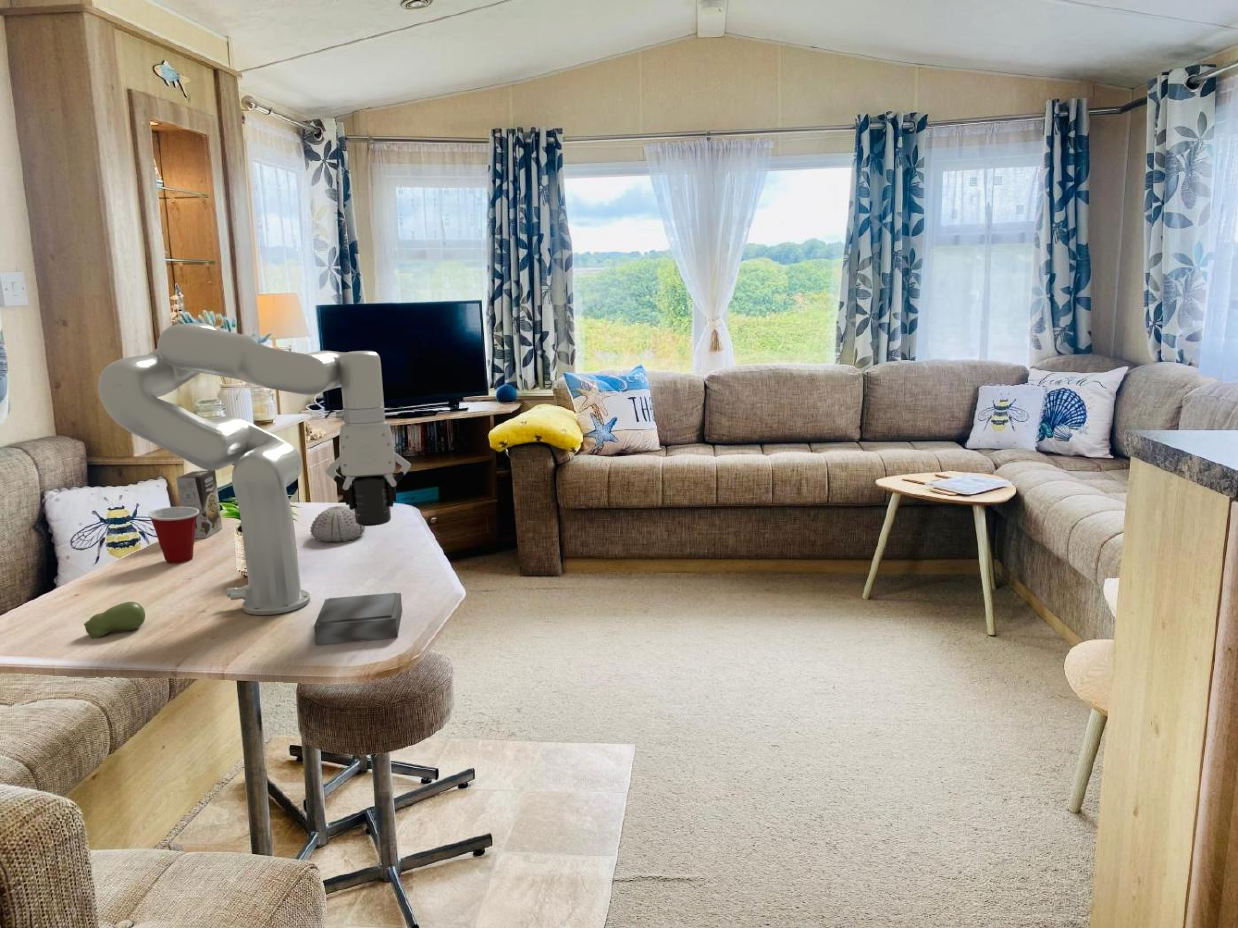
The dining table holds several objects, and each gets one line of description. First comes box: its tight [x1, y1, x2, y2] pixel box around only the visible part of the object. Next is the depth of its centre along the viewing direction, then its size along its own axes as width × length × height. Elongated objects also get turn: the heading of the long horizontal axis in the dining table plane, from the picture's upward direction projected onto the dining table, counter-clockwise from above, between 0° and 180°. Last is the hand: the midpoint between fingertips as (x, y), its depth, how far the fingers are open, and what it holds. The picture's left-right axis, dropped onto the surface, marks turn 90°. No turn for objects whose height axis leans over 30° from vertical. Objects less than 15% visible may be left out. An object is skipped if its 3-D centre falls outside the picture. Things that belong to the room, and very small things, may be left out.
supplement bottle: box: [352, 475, 392, 527], centre depth 177 cm, size 7×7×12 cm
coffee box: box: [176, 470, 223, 539], centre depth 236 cm, size 9×6×16 cm
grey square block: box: [313, 592, 403, 646], centre depth 167 cm, size 14×14×4 cm
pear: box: [83, 601, 146, 639], centre depth 169 cm, size 6×5×10 cm
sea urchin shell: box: [309, 505, 366, 543], centre depth 229 cm, size 13×14×8 cm
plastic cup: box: [148, 506, 199, 565], centre depth 213 cm, size 11×11×12 cm
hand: (371, 506), depth 177 cm, fingers closed on supplement bottle, 6 cm apart
